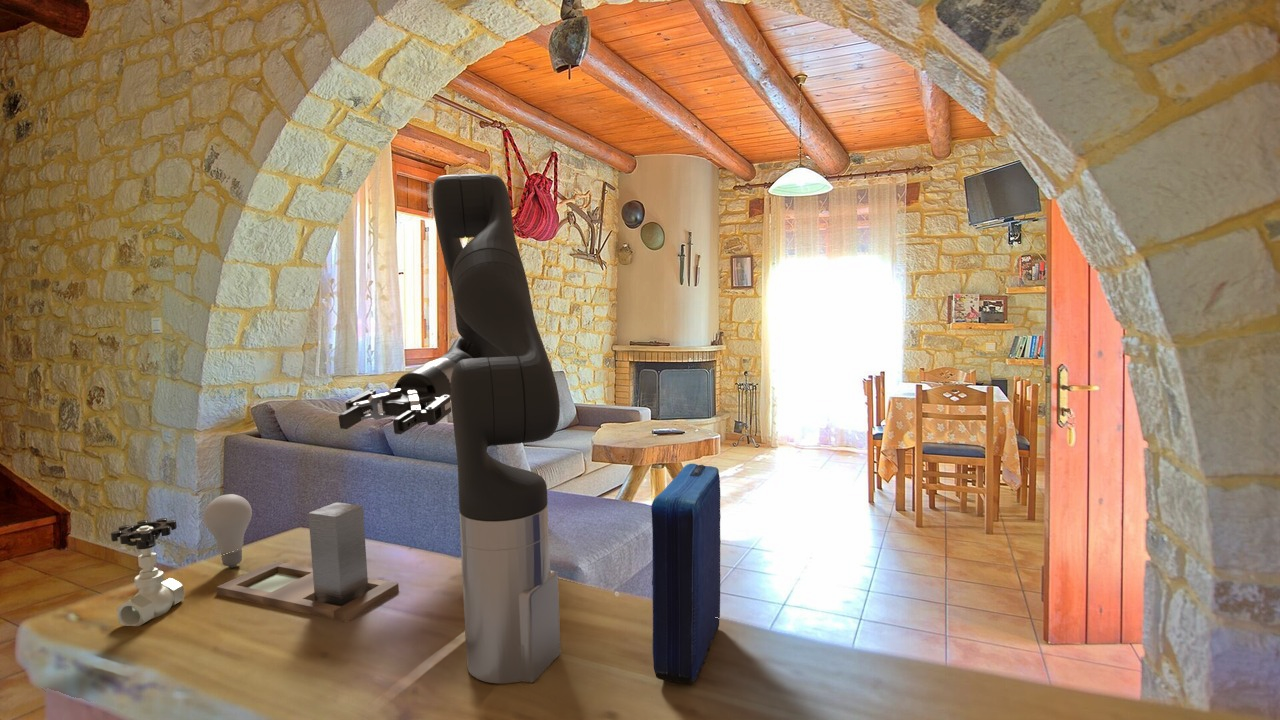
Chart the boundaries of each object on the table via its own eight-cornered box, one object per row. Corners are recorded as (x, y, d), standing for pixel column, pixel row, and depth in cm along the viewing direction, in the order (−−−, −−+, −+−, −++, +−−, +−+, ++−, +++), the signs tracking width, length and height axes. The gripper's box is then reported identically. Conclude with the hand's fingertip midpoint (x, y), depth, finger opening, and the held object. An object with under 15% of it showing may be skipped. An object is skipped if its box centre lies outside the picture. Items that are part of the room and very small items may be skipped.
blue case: (683, 620, 83) (680, 458, 81) (726, 626, 81) (725, 461, 79) (648, 687, 69) (644, 494, 67) (700, 695, 67) (697, 498, 65)
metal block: (368, 594, 90) (362, 505, 88) (342, 609, 86) (335, 516, 84) (342, 589, 91) (336, 502, 90) (315, 603, 87) (308, 512, 86)
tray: (399, 596, 91) (398, 583, 91) (347, 627, 83) (346, 613, 82) (275, 573, 99) (274, 561, 99) (217, 599, 91) (216, 586, 91)
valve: (197, 607, 89) (188, 518, 88) (156, 632, 82) (147, 536, 81) (150, 606, 90) (141, 517, 88) (106, 631, 83) (96, 536, 82)
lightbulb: (264, 563, 103) (258, 492, 102) (222, 578, 98) (215, 503, 96) (242, 555, 106) (236, 486, 105) (200, 570, 101) (193, 497, 100)
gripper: (389, 361, 109) (319, 395, 94) (470, 367, 105) (411, 403, 90) (394, 406, 111) (327, 446, 96) (474, 412, 107) (418, 455, 92)
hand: (368, 425), depth 93 cm, fingers open, 8 cm apart
